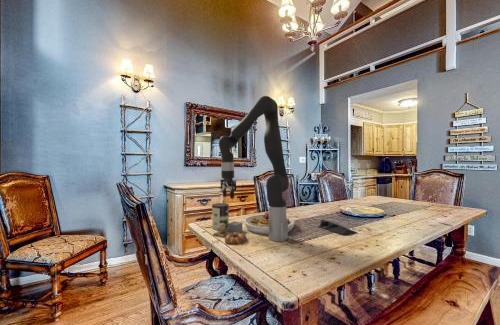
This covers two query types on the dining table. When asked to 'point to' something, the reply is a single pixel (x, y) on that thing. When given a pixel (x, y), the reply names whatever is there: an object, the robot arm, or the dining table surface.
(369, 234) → the dining table surface
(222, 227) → the brown base with peg
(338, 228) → the dark slate chunk
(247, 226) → the bowl
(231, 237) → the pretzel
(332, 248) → the dining table surface
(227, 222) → the coffee can
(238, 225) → the matte grey box
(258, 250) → the dining table surface
